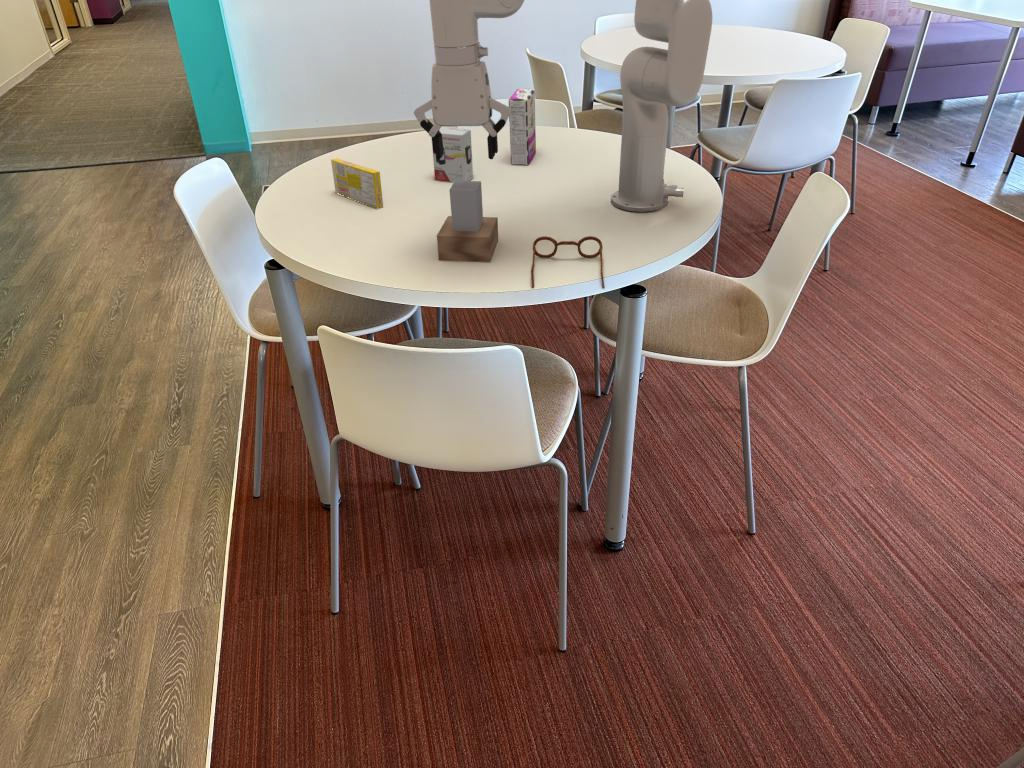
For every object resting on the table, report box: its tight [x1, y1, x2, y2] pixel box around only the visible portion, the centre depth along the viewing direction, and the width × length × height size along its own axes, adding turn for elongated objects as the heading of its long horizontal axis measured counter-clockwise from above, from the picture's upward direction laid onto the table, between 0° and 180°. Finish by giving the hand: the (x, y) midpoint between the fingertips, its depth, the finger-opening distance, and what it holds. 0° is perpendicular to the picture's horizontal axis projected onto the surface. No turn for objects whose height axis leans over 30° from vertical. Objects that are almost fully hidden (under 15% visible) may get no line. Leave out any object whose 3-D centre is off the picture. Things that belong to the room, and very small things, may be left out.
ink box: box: [431, 126, 474, 183], centre depth 173 cm, size 9×5×12 cm, turn 68°
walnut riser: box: [436, 215, 500, 263], centre depth 139 cm, size 10×10×5 cm
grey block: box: [449, 180, 484, 232], centre depth 136 cm, size 5×5×8 cm
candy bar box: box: [508, 88, 537, 166], centre depth 184 cm, size 11×5×16 cm, turn 168°
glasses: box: [530, 235, 605, 289], centre depth 130 cm, size 13×13×5 cm
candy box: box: [330, 157, 384, 209], centre depth 164 cm, size 16×2×8 cm, turn 47°
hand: (466, 156), depth 131 cm, fingers open, 9 cm apart
